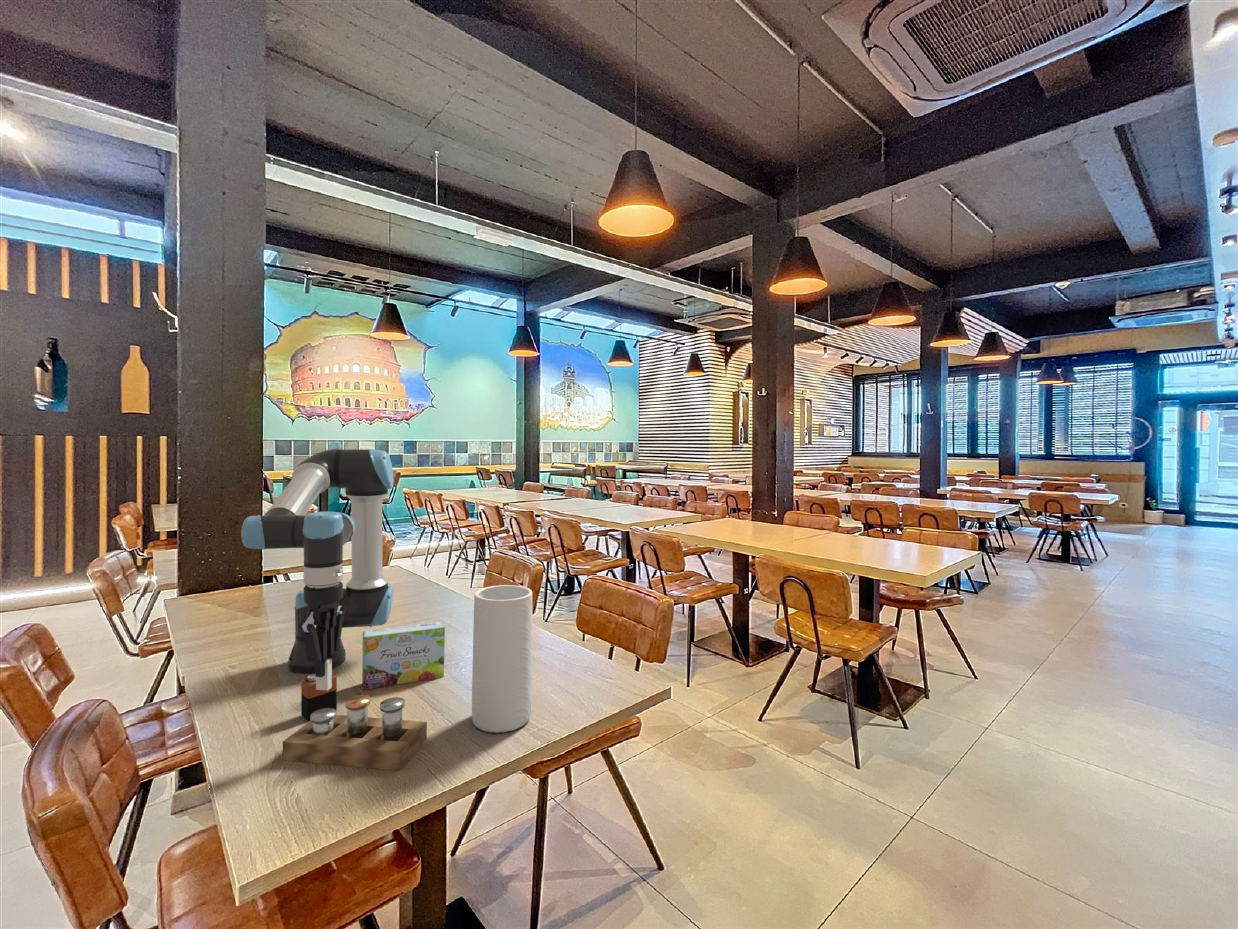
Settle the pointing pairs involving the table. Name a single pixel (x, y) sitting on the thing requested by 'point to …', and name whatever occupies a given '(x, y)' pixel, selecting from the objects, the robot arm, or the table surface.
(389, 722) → the plug
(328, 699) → the battery
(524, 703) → the vase
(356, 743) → the wooden jar holder
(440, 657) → the snack box
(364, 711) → the plug mid
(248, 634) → the table surface
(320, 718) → the plug
